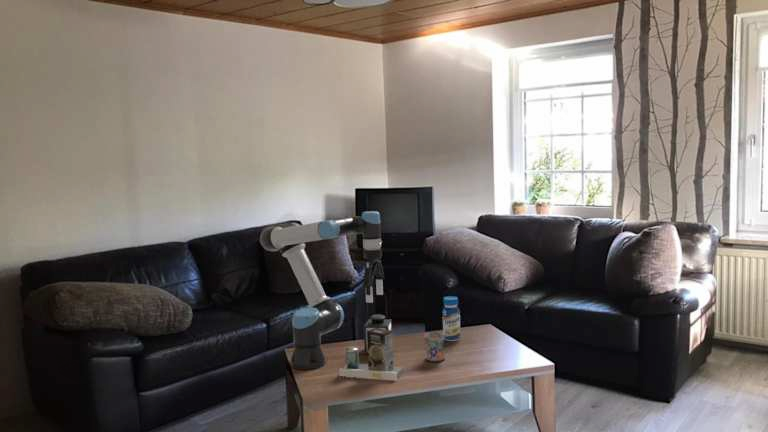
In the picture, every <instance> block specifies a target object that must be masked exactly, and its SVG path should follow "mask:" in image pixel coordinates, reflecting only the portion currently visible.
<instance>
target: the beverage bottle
mask: <svg viewBox="0 0 768 432" xmlns="http://www.w3.org/2000/svg"><path fill="white" fill-rule="evenodd" d="M443 305H444V306H443V309H442V317H441V319H442V333H443V334H445V338H444V341H447V342H455V341H456V342H457V341H459V340H460V339H461V338H462V337H461V315H460V313H461V310H460V308H459V307H458V305H459V299H458V297H457V296H453V295H452V296H451V295H448V296H444V297H443Z"/></svg>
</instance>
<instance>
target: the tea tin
mask: <svg viewBox="0 0 768 432" xmlns="http://www.w3.org/2000/svg"><path fill="white" fill-rule="evenodd" d="M359 351H360V350H359V347H357V346H348V347H346V348H345V353H346V357H345V358H346V365H347V369H358V368H359V364H360V359H359V354H360V353H359Z"/></svg>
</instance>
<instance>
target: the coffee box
mask: <svg viewBox="0 0 768 432" xmlns="http://www.w3.org/2000/svg"><path fill="white" fill-rule="evenodd" d="M367 344H368V355H367V359H368V360H367V362H368V364H367V365H368V368H369V369H370V370H375V371H387V372H389V371H391V370H393V369H394V367H395V352H394V351H395V350H394V347H395V346H394V330H393V329H392V330H386V329H381V328H374V329H370V330H368V331H367Z"/></svg>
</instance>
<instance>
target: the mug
mask: <svg viewBox="0 0 768 432" xmlns="http://www.w3.org/2000/svg"><path fill="white" fill-rule="evenodd" d="M423 338H424V340H425V344H426V354H425V357H424V358H425V360H427V361H429V362H441V361H443V360H445V359H446V356H445V354H444V350H443V349H444V347H443V346H444V341H445V340H444V338H445V334H443V332H439V331H438V332H437V331H436V332H435V331H433V332H427V333H424V334H423Z"/></svg>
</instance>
